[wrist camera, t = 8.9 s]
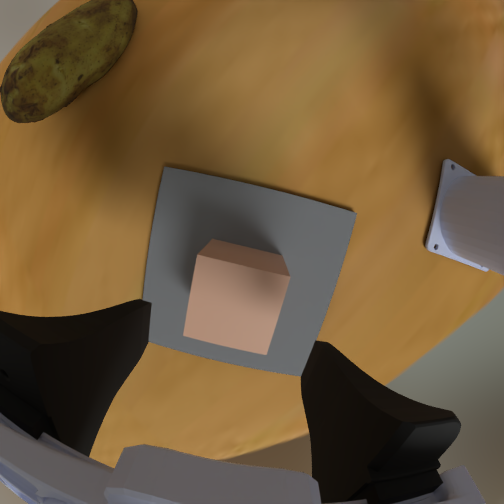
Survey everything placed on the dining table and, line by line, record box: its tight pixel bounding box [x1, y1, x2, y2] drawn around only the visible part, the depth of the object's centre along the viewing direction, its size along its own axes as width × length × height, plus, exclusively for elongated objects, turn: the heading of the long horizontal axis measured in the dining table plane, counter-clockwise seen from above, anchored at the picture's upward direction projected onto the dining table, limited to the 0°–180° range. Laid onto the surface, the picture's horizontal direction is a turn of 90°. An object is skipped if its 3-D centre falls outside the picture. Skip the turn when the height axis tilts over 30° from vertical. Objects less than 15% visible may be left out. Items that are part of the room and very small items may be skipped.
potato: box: [0, 0, 137, 123], centre depth 13 cm, size 8×13×8 cm, turn 124°
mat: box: [143, 167, 357, 376], centre depth 20 cm, size 14×14×1 cm
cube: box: [183, 239, 290, 355], centre depth 17 cm, size 5×5×5 cm
